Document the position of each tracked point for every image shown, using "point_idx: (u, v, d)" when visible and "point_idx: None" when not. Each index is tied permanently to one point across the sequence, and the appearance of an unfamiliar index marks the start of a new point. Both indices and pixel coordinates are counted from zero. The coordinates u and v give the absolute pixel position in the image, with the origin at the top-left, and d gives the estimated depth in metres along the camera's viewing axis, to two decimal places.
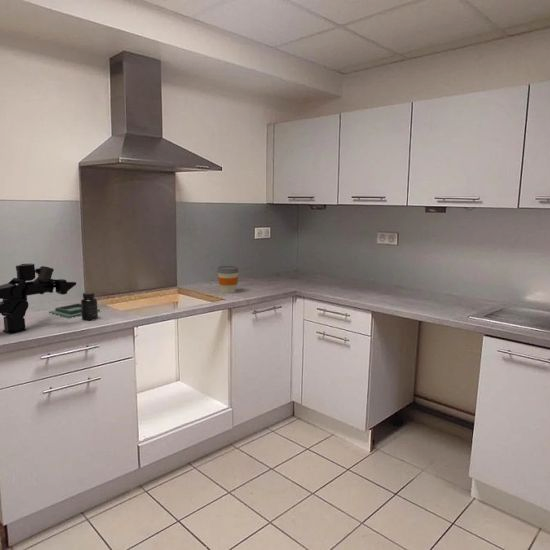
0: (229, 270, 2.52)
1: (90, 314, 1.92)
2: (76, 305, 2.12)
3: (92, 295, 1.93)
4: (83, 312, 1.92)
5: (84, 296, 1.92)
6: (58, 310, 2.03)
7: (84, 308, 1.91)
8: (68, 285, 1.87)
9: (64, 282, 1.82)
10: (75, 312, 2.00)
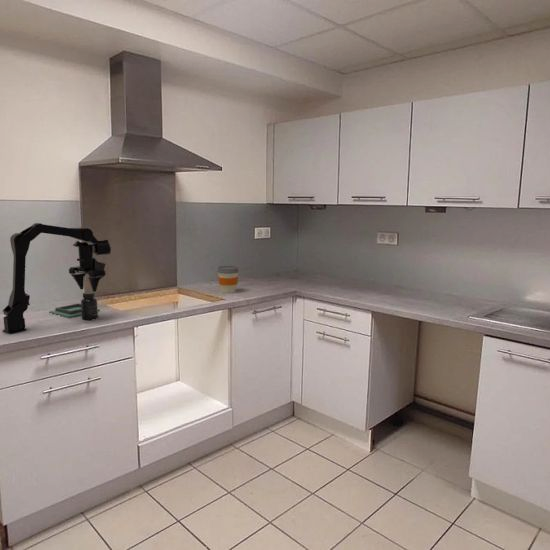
0: (229, 270, 2.52)
1: (90, 314, 1.92)
2: (76, 305, 2.12)
3: (92, 295, 1.93)
4: (83, 312, 1.92)
5: (84, 296, 1.92)
6: (58, 310, 2.03)
7: (84, 308, 1.91)
8: (95, 282, 1.89)
9: (104, 273, 1.89)
10: (75, 312, 2.00)
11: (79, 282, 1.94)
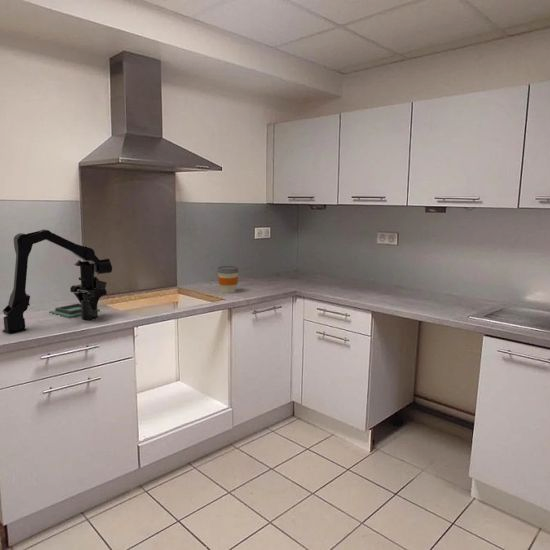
0: (229, 270, 2.52)
1: (90, 314, 1.92)
2: (76, 305, 2.12)
3: None
4: (83, 312, 1.92)
5: (84, 296, 1.92)
6: (58, 310, 2.03)
7: (84, 308, 1.91)
8: (95, 301, 1.91)
9: (105, 292, 1.90)
10: (75, 312, 2.00)
11: None
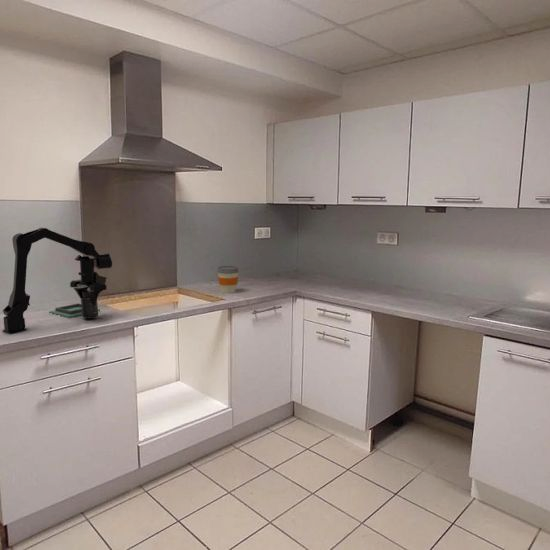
0: (229, 270, 2.52)
1: (90, 312, 1.92)
2: (76, 305, 2.12)
3: None
4: (83, 310, 1.92)
5: (84, 294, 1.91)
6: (58, 310, 2.03)
7: (84, 306, 1.91)
8: (94, 295, 1.91)
9: (105, 287, 1.90)
10: (75, 312, 2.00)
11: (82, 296, 1.95)
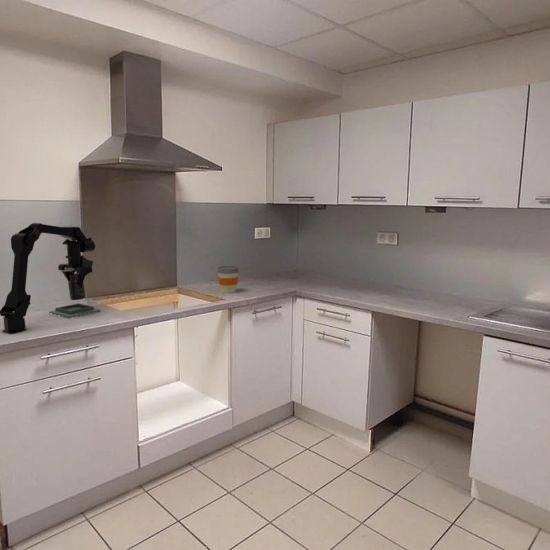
0: (229, 270, 2.52)
1: (77, 294, 2.00)
2: (76, 305, 2.12)
3: None
4: (71, 292, 2.00)
5: (71, 277, 2.00)
6: (58, 310, 2.03)
7: (72, 288, 1.99)
8: (81, 278, 1.99)
9: (91, 270, 1.98)
10: (75, 312, 2.00)
11: (69, 279, 2.03)
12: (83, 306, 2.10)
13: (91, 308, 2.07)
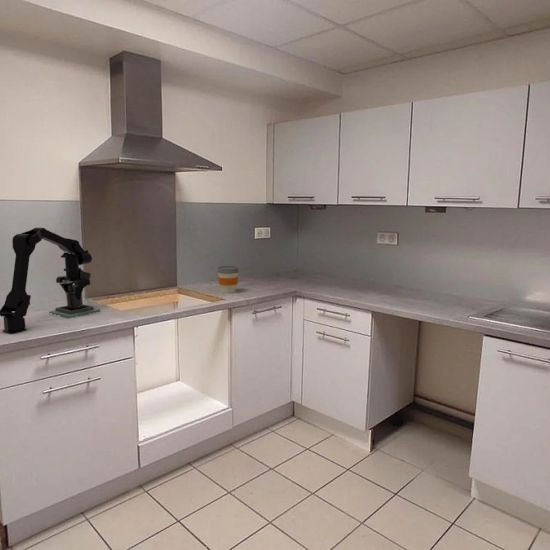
0: (229, 270, 2.52)
1: (75, 305, 2.02)
2: None
3: None
4: (69, 303, 2.02)
5: (69, 288, 2.02)
6: (58, 310, 2.03)
7: (70, 299, 2.02)
8: (79, 290, 2.02)
9: (89, 282, 2.01)
10: (75, 312, 2.00)
11: (67, 291, 2.06)
12: (83, 306, 2.10)
13: (91, 308, 2.07)
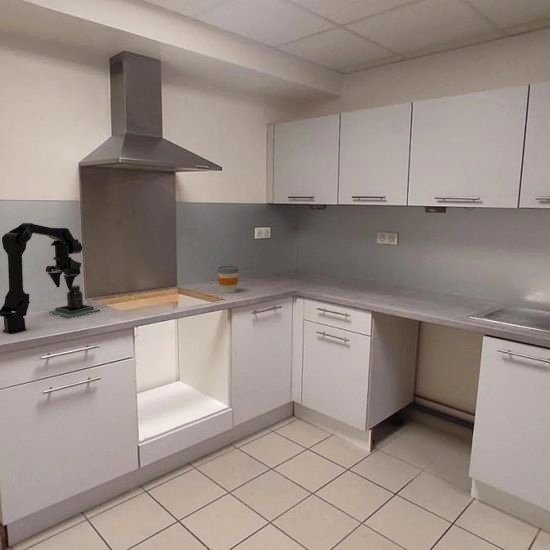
0: (229, 270, 2.52)
1: (75, 306, 2.02)
2: None
3: (78, 288, 2.03)
4: (69, 304, 2.02)
5: (70, 289, 2.02)
6: (58, 310, 2.03)
7: (70, 300, 2.01)
8: (70, 280, 1.96)
9: (79, 272, 1.96)
10: (75, 312, 2.00)
11: (55, 280, 2.01)
12: (83, 306, 2.10)
13: (91, 308, 2.07)
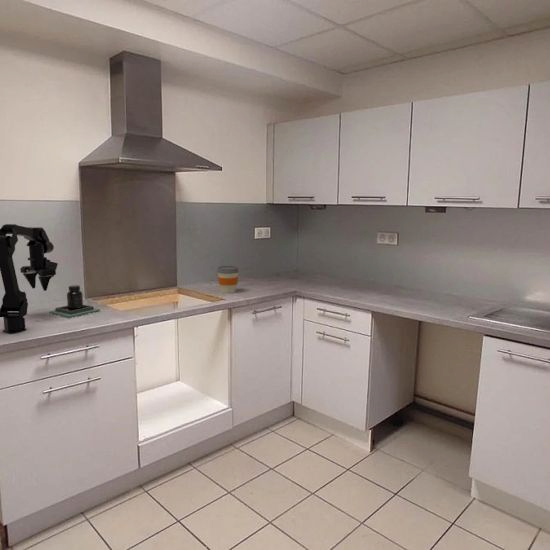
0: (229, 270, 2.52)
1: (75, 306, 2.02)
2: None
3: (78, 288, 2.03)
4: (69, 304, 2.02)
5: (70, 289, 2.02)
6: (58, 310, 2.03)
7: (70, 300, 2.01)
8: (45, 281, 1.91)
9: (54, 272, 1.90)
10: (75, 312, 2.00)
11: (31, 281, 1.96)
12: (83, 306, 2.10)
13: (91, 308, 2.07)
